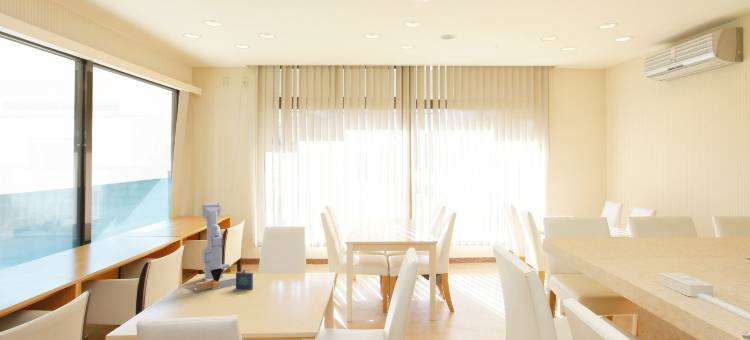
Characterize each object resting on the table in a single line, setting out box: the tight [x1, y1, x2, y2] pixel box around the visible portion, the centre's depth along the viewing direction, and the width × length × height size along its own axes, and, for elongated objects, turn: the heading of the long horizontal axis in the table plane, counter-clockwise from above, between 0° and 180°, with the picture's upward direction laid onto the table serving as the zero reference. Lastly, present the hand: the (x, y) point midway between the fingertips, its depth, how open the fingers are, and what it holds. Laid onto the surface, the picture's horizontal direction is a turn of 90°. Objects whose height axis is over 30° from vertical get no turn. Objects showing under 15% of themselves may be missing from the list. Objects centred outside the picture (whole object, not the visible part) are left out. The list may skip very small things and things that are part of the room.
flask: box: [235, 269, 254, 291], centre depth 246 cm, size 9×3×11 cm, turn 88°
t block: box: [195, 279, 219, 290], centre depth 247 cm, size 10×10×3 cm
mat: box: [185, 277, 236, 294], centre depth 252 cm, size 31×14×1 cm, turn 136°
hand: (216, 282), depth 251 cm, fingers closed
